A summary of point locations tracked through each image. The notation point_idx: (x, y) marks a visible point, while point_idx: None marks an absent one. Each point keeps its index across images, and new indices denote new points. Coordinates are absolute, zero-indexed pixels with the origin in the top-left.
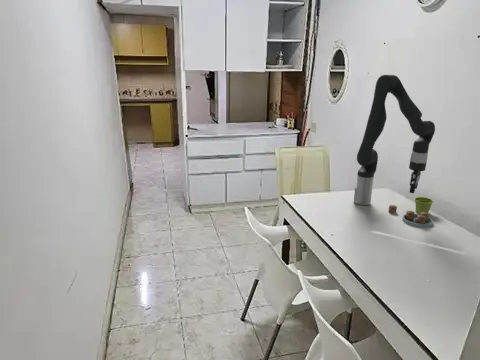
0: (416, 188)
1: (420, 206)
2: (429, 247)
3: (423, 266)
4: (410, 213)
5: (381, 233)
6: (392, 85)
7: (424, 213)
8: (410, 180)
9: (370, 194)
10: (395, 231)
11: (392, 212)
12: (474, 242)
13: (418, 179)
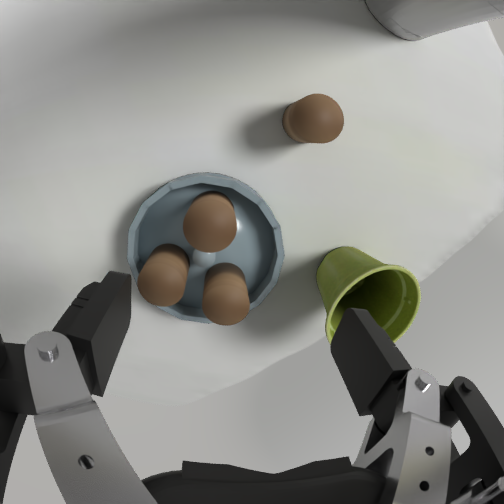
0: (331, 346)
1: (332, 287)
2: (11, 278)
3: None
4: (183, 225)
5: (26, 103)
6: None
7: (222, 303)
8: (36, 417)
9: (419, 10)
10: (60, 151)
11: (286, 119)
12: (130, 397)
13: (352, 465)
